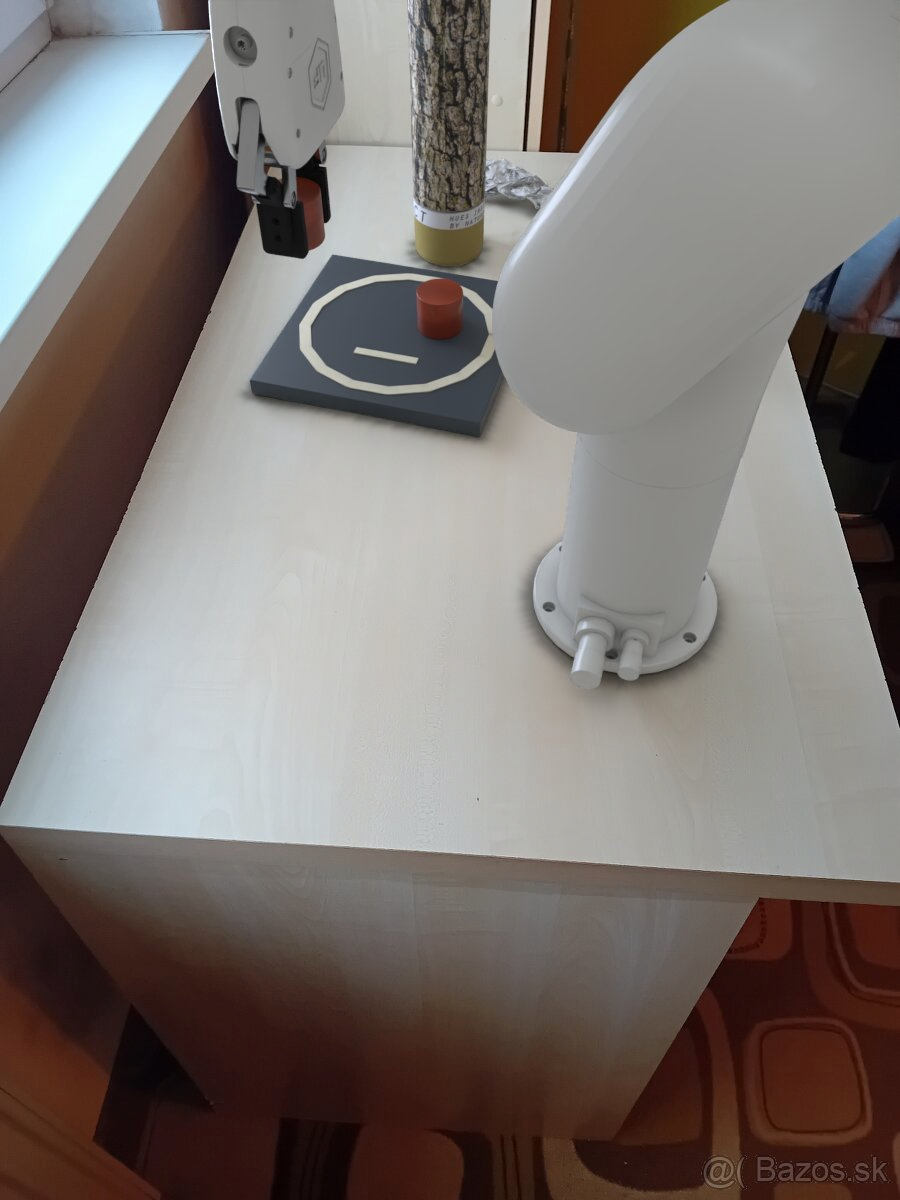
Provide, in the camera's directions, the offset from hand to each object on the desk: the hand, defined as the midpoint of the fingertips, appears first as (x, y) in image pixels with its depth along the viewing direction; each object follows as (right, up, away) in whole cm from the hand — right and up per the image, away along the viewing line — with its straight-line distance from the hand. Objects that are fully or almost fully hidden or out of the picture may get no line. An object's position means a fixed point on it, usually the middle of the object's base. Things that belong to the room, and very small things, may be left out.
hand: (297, 233), depth 69 cm
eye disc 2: (+10, -2, +17) cm, 19 cm away
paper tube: (+11, +8, +27) cm, 30 cm away
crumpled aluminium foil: (+18, +17, +32) cm, 40 cm away
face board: (+6, -3, +17) cm, 19 cm away
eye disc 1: (0, 0, 0) cm, 0 cm away
